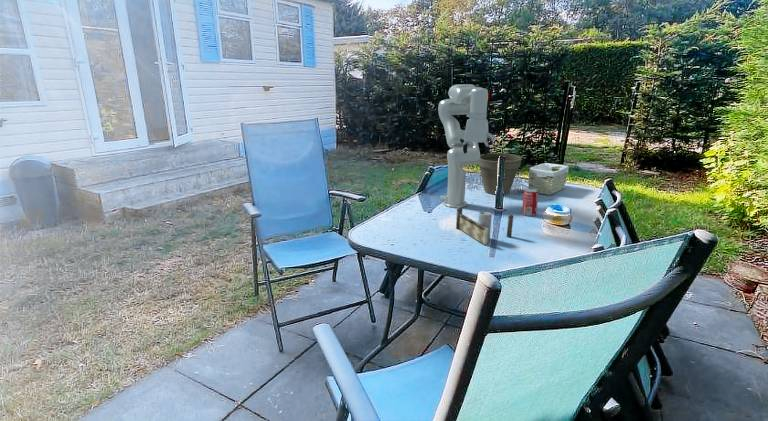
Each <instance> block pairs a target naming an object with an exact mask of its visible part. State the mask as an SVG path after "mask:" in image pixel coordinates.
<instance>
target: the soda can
mask: <svg viewBox="0 0 768 421" xmlns="http://www.w3.org/2000/svg"><path fill="white" fill-rule="evenodd" d="M538 202H539V193H538V190H537V189H531V188H529V187H528V188H525V189H524V191H523V197H522V209H521V213H522V215H523V216H527V217H534V216H536V215H537V213H538V212H537V211H538Z"/></svg>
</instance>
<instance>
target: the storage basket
mask: <svg viewBox="0 0 768 421" xmlns="http://www.w3.org/2000/svg"><path fill="white" fill-rule="evenodd" d="M553 169H555V170H553ZM569 170H570V166H569V165H566V164H558V163H549V162H545V163H540V164H538V165H535V166H531V167H530V168H529V169H528V189H529V188H531V189H537V190H538V194H540V195H548V196H550V195H554V194H555V193H557V192H559V191H562V190H563V189H565V184H566V182H567V177H568V174H569Z"/></svg>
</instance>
